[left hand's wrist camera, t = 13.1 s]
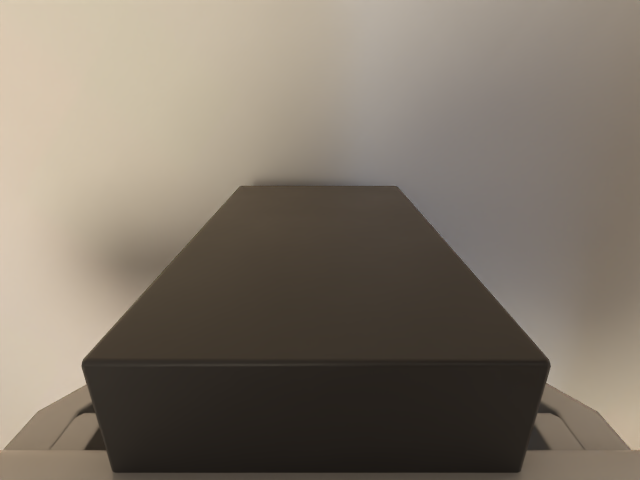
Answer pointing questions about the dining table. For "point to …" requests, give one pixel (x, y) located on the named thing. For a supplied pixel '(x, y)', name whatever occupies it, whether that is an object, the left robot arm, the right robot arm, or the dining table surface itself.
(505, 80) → the dining table surface
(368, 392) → the bar
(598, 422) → the left robot arm
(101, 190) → the dining table surface
